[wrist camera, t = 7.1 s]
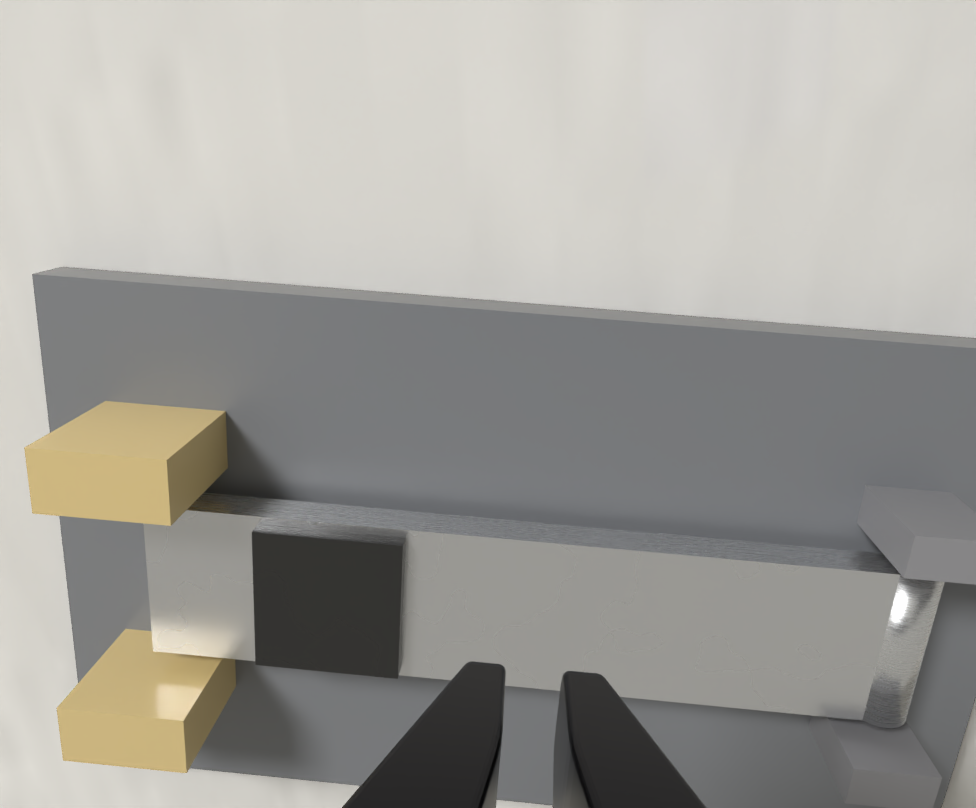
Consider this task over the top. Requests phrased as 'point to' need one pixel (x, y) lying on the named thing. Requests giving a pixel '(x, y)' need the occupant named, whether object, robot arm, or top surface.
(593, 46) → the top surface
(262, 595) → the strap
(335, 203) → the top surface
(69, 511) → the hinge plate
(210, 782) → the top surface
